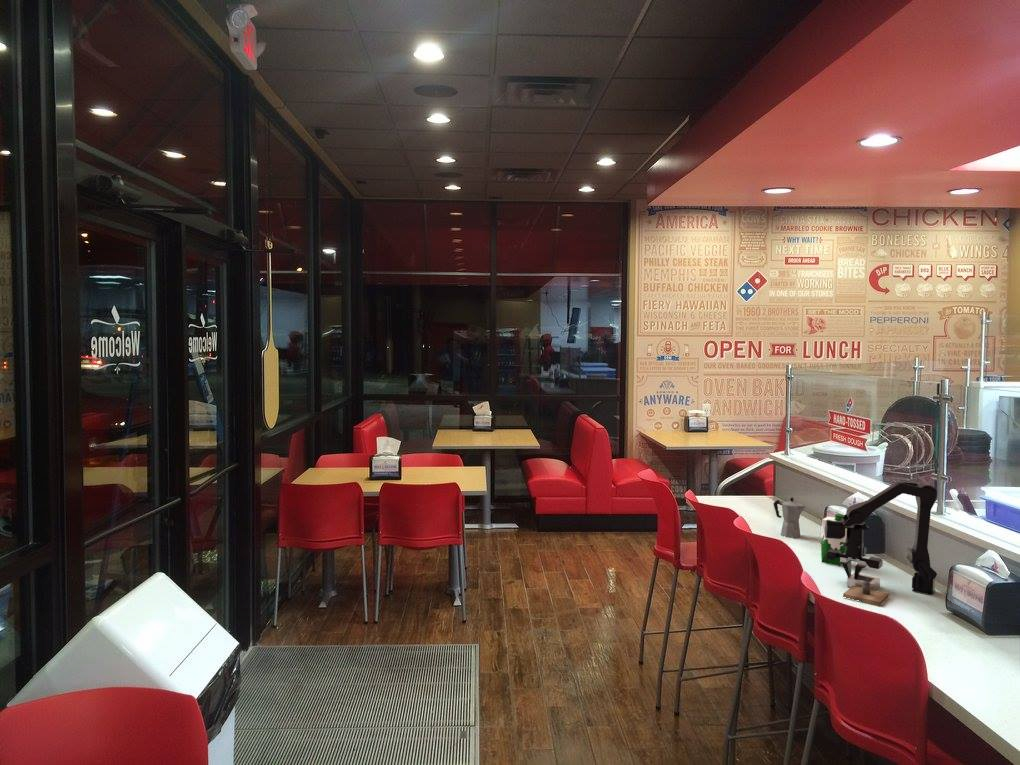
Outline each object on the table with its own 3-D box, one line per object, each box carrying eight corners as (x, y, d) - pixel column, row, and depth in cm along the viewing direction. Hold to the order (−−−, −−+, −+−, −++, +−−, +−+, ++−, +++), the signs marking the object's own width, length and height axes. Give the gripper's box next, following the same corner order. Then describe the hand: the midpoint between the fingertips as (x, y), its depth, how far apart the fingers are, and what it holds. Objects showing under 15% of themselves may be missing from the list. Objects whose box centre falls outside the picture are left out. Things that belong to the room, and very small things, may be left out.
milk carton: (841, 566, 294) (843, 518, 293) (818, 562, 299) (820, 514, 298) (847, 562, 300) (849, 514, 299) (824, 557, 306) (826, 510, 305)
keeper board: (888, 597, 259) (889, 580, 259) (879, 606, 250) (880, 589, 250) (852, 589, 267) (853, 573, 266) (843, 597, 258) (843, 581, 257)
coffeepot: (808, 536, 339) (810, 498, 338) (799, 540, 333) (801, 501, 332) (777, 530, 350) (778, 493, 349) (767, 533, 344) (769, 495, 343)
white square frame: (879, 586, 271) (880, 578, 270) (873, 592, 264) (873, 584, 264) (853, 580, 276) (854, 572, 276) (846, 586, 270) (847, 578, 269)
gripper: (887, 540, 272) (885, 581, 273) (835, 531, 284) (833, 570, 285) (879, 546, 263) (877, 589, 264) (825, 537, 275) (824, 577, 276)
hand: (852, 581), depth 272 cm, fingers closed on white square frame
